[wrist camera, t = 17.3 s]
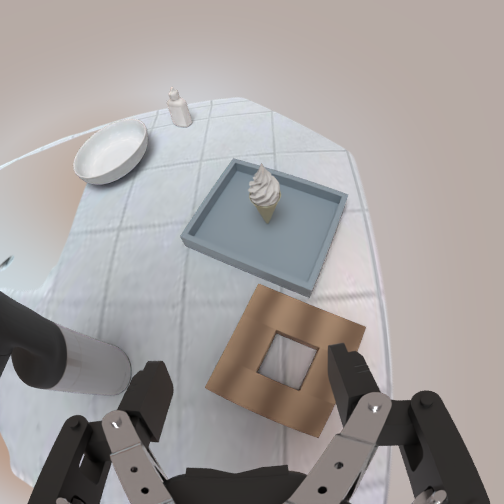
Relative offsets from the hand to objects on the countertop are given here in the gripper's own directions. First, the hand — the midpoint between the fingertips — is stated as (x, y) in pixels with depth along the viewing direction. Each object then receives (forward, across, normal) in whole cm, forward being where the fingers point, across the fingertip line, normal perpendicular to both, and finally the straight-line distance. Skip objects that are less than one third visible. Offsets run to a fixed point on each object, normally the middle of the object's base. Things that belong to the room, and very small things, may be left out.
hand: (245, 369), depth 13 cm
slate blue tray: (+41, -3, +2) cm, 41 cm away
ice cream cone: (+40, -3, +2) cm, 41 cm away
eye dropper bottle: (+66, +15, -23) cm, 72 cm away
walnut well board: (+24, -3, +20) cm, 31 cm away
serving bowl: (+58, +32, -16) cm, 69 cm away
